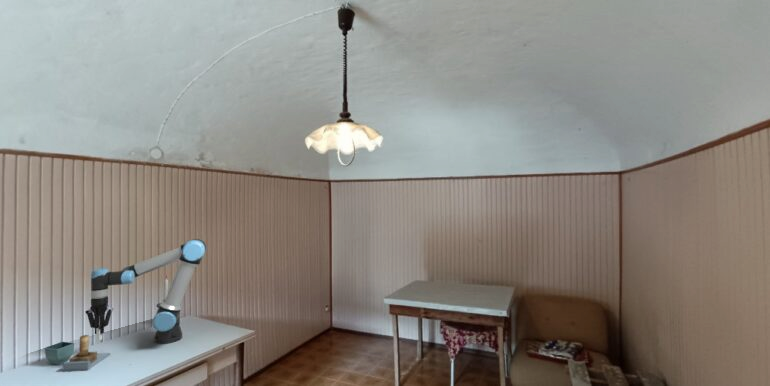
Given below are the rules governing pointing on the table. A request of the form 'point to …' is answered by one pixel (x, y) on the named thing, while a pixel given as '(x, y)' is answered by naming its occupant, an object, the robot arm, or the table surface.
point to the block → (91, 357)
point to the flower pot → (59, 352)
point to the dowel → (84, 346)
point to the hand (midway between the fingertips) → (99, 339)
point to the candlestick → (165, 290)
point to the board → (83, 363)
